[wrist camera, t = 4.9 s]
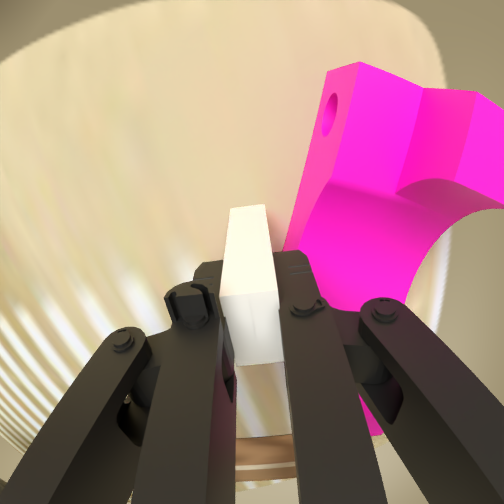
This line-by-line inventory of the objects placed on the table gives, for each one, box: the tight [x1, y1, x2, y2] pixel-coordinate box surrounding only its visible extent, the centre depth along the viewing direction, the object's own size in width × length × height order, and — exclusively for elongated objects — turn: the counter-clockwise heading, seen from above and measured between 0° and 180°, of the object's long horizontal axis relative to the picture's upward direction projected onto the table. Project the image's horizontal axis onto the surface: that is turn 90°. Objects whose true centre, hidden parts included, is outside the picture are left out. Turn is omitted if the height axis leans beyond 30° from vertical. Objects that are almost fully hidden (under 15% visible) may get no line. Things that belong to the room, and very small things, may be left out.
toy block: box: [282, 62, 504, 436], centre depth 12 cm, size 15×6×8 cm, turn 169°
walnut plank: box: [235, 434, 297, 482], centre depth 25 cm, size 16×5×3 cm, turn 97°
